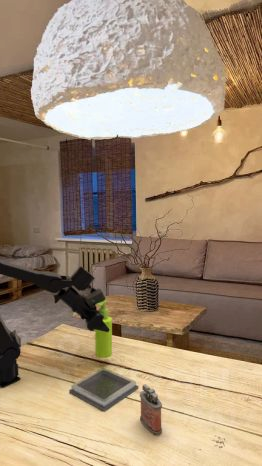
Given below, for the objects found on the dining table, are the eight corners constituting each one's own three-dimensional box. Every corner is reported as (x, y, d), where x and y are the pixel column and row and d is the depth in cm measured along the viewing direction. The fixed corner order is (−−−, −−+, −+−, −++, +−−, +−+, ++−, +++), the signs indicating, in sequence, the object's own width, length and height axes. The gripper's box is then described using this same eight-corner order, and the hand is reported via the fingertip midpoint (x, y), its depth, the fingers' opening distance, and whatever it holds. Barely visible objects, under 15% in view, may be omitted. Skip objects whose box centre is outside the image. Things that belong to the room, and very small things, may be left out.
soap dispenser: (91, 358, 120) (90, 302, 117) (99, 349, 126) (98, 296, 124) (107, 360, 118) (107, 304, 115) (114, 351, 124) (114, 298, 122)
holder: (104, 411, 95) (104, 404, 95) (69, 392, 105) (69, 385, 105) (138, 388, 107) (138, 381, 107) (103, 373, 116) (103, 366, 116)
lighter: (165, 432, 87) (165, 395, 86) (153, 437, 85) (153, 399, 84) (148, 415, 94) (147, 380, 93) (137, 419, 92) (136, 383, 91)
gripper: (97, 289, 110) (130, 319, 114) (85, 276, 127) (114, 302, 132) (72, 316, 108) (107, 345, 112) (64, 299, 125) (94, 325, 130)
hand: (106, 327), depth 122 cm, fingers closed on soap dispenser, 6 cm apart
